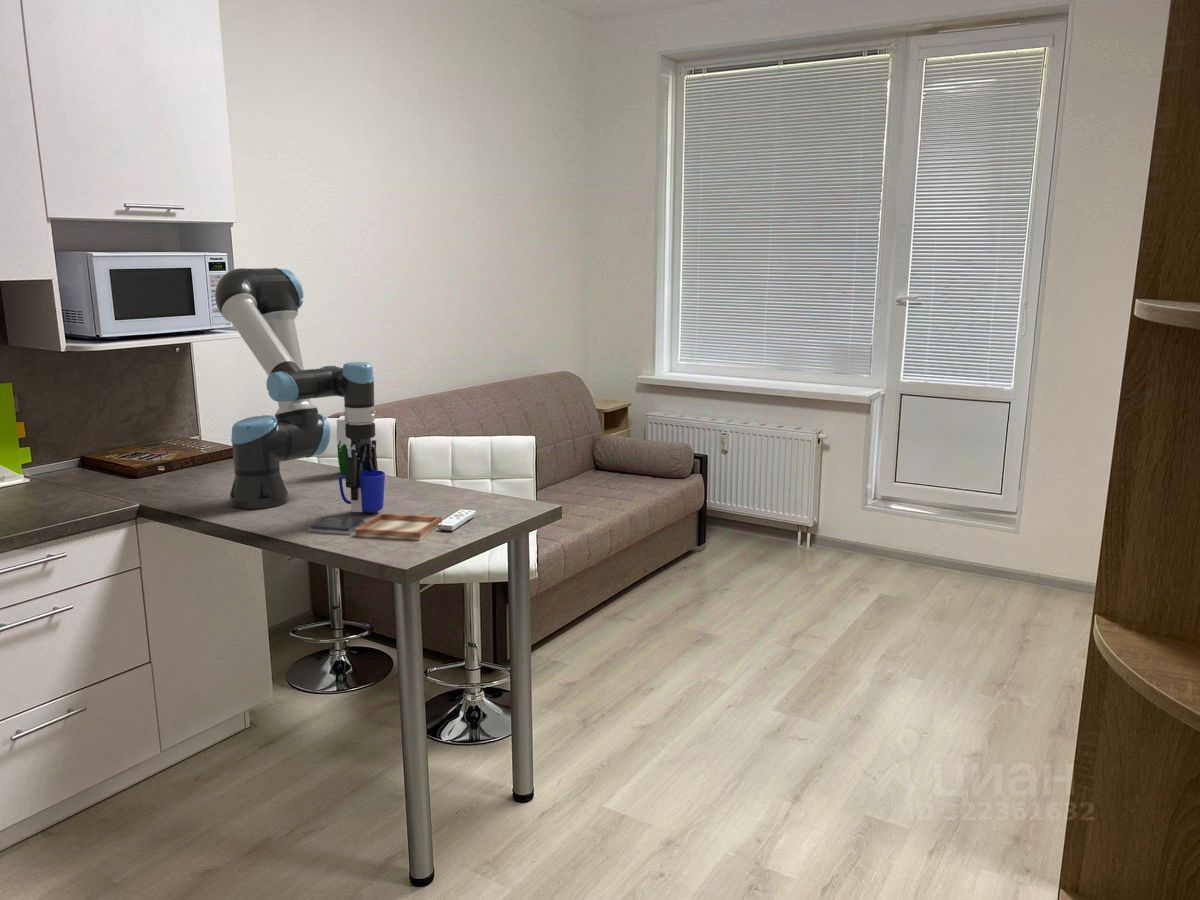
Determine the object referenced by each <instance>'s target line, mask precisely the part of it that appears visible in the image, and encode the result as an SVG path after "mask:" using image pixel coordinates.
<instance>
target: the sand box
mask: <svg viewBox="0 0 1200 900" xmlns="http://www.w3.org/2000/svg"><path fill="white" fill-rule="evenodd" d="M364 522H365V523H364V524H362V525H360V526H359V527H357V528H356V529H355V532H354V537H363V538H365V537H366V538H380V539H392V540H393V539H395V540H396V539H397V540H409V541H410V540H411V541H412V540H413V541H421V540H422V539H424V538H425V537H426V536H427V535H429V534H430V533H432V532H433V531H435V530H436V529H437V528H438V527H439V526H438V524H439V523H441V522H442V523H443V517H442V516H436V515H435V516H434V515H415V514H414V515H413V514H400V513H399V514H397V513H382V512H381V513H379V514H377V515H376V516H374V517H372V518H371V519H368V520H367V521H364ZM437 526H438V527H437Z"/></svg>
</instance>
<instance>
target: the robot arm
mask: <svg viewBox="0 0 1200 900" xmlns="http://www.w3.org/2000/svg"><path fill="white" fill-rule="evenodd" d="M214 293H215V294H214V297H215V298H214V299H215V304H216V307H217V309H218V311H219V312H220V315H221V316H222V317H223V318H224V320H225V321H227V322H230V323H232V325H233V326H234V328H235V330H236V331H237V333H238V334H239V335H240V337H241V339H242V340H243V341H244V343H245V344H246V345H247V347H248V348H249V349H250V351H251V353H252V354H253V356H254V357H255V358H256V360H257V362H258V363H259V365H260V366H261V367H262V369H263V370H264V371H265V373H266V375H267V379H266V390H267V391H268V395H269V398H270V399H272V400H273V401H275V402H277V403H278V404H277V405H278V409H277V411H276V412H275V414H274V415H268V414H267V415H265V414H264V415H260V416H258V415H257V416H256V415H255V416H252V417H248V418H243V419H240V420H239V421H237V422H235V423H234V424H233V426H232V427H231V443H232V444H231V445H232V447H231V448H232V455H233V457H232V458H233V468H234V469H233V470H234V479H233V483H232V486H231V491H230V494H229V505H230V506H231V507H232V506H233V508H235V507H237V508H236V509H241V508H244V509H245V510H254V509H255V510H258V509H267V508H272V507H277V506H281V505H284V504H286V503H287V502H289V492H288V490H287V487H286V484H285V482H284V479H283V477H282V474H281V471H280V469H281V468H280V462H285V461H292V460H299V459H305V458H308V459H309V458H312V457H314V456H319V455H321V454H323V453H324V452H325V451H326V450H327V448H328V446H329V443H330V440H331V427H330V423H329V420H328V419H327V417H326V416H325V415H324V414H321V413H319V411H318V406H315V405H314V404H313V403H312V402H311V399H319V398H320V399H321V398H328V397H330V398H331V397H342V398H343V402H344V403H343V404H344V416H345V421H346V422H347V423H346V425H345V432H346V437H347V438H350V439H351V446H350V449H345V456H346V478H345V487H346V488H347V489H350V501H351V504H350V508H351V510H350V511H351V512H353V513H363V512H362V499H361V488H359V486H360V478H359V477H361V470H362V467H363V470H368V471H370V472H372V470H378V471H379V467H378V458H377V440H375V439H374V440H373V439H372V438H375V436H376V423H375V422H374V421H375V416H376V413H377V411H376V410H375V377H374V369H373V365H372V364H371V363H369V362H363V361H353V362H346V363H344V364H343V366H342V367H339V366H336V365H325V366H321V367H320V368H311V369H309V368H308V369H305V368H304V364H303V363H304V362H303V357H302V353H301V347H300V343H299V342H300V341H299V338H298V334H297V328H296V322H295V319H296V318H297V316H298V315H299V311H298V310H299V309H301V307H302V305H303V303H304V299H303V298H304V291H303V286H302V283H301V281H300V279H299V277H298V276H297V275H296V274H295V273H294V272H293V271H291V270H289V269H285V268H277V267H272V268H271V267H270V268H269V267H268V268H265V267H264V268H244V267H243V268H242V267H241V268H234V269H231V270H230V271H228V272H226V273H225V274H223V275H222V277H221V278H220V279H219V281H218V283H217V285H216V287H215V291H214ZM357 458H360V459H357Z"/></svg>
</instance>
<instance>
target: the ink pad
mask: <svg viewBox="0 0 1200 900" xmlns="http://www.w3.org/2000/svg"><path fill="white" fill-rule="evenodd" d="M365 522H366V521H365V520H364V519H357V518H356V519H355V518H339V517H325V518H323V519H321V520H320V521H318V522H316V523H315V524H312V525H311V526H310V527H309V528H308V533H314V534H315V533H317V534H319V533H320V534H333V535H352V534H355V529H356V528H357V527H359V526H360V525H362V524H364V523H365Z"/></svg>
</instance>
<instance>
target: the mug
mask: <svg viewBox="0 0 1200 900" xmlns="http://www.w3.org/2000/svg"><path fill="white" fill-rule="evenodd" d="M385 477H386V473H385V472H384V471H383V470H379V469H378V470H372V472H370V471H368V470H363V471H361V477H359V478H360V486H359V488H361V499H362V512H361V513H368V514H369V513H376V512H377V513H378V512H380V511H381V510H382V509H384V498H385V483H386V482H385V480H386V478H385ZM343 479H346V475H343V476H341V475H339V476H338V485H339V486H338V487H339V491H340V496H341V499H342V500H343V502H344V503H345V504H348V505H351V500H348V499H347V497H346V495H345V492H344V491H345V490H344V485H343Z"/></svg>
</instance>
